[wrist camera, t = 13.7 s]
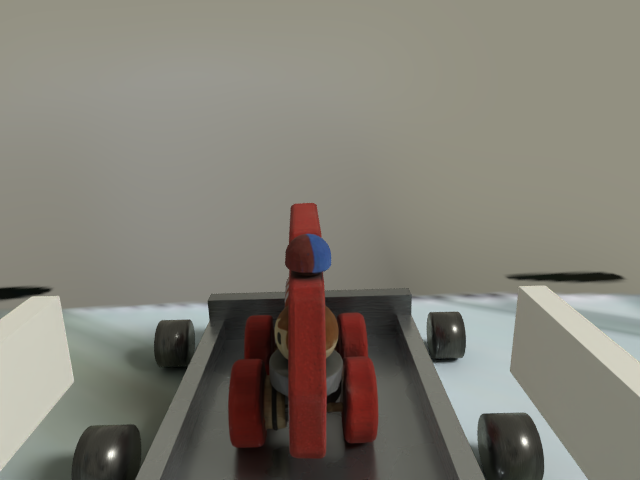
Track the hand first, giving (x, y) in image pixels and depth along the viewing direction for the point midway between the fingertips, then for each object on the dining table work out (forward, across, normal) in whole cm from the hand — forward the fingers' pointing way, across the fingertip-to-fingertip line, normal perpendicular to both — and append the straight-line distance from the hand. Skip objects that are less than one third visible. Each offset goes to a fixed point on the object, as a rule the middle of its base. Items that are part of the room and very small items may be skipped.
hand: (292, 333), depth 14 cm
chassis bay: (+10, 0, -10) cm, 15 cm away
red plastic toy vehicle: (+10, 0, -10) cm, 14 cm away
